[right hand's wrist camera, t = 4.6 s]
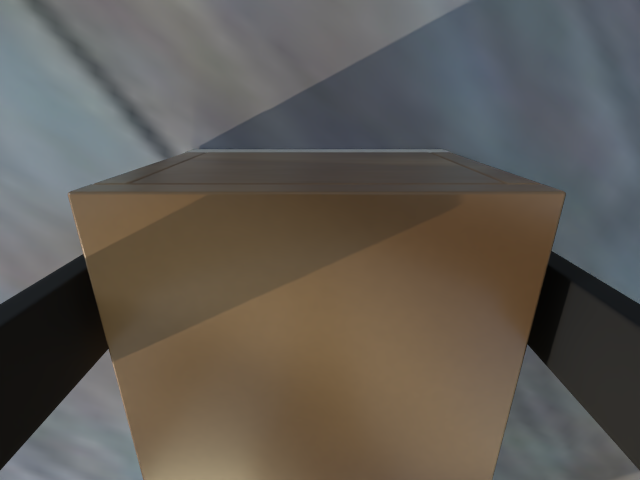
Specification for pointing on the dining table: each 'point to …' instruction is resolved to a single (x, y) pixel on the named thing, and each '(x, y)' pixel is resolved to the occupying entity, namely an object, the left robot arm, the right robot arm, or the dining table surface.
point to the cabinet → (317, 309)
